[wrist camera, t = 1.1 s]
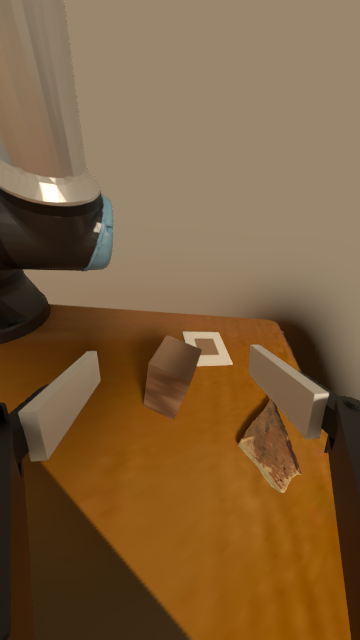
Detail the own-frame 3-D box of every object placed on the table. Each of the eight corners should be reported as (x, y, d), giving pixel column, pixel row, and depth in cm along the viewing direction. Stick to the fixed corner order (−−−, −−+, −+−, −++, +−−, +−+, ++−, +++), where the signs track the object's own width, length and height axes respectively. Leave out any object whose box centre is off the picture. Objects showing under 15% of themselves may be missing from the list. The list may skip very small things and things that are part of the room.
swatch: (182, 332, 39) (182, 331, 39) (218, 333, 41) (218, 331, 41) (190, 366, 33) (191, 364, 32) (232, 364, 35) (233, 363, 34)
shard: (268, 400, 31) (273, 396, 30) (311, 441, 27) (319, 437, 26) (233, 443, 25) (239, 439, 23) (282, 503, 21) (291, 503, 20)
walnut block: (143, 405, 26) (148, 363, 19) (157, 378, 29) (166, 334, 22) (173, 420, 25) (190, 382, 18) (184, 390, 29) (202, 349, 22)
